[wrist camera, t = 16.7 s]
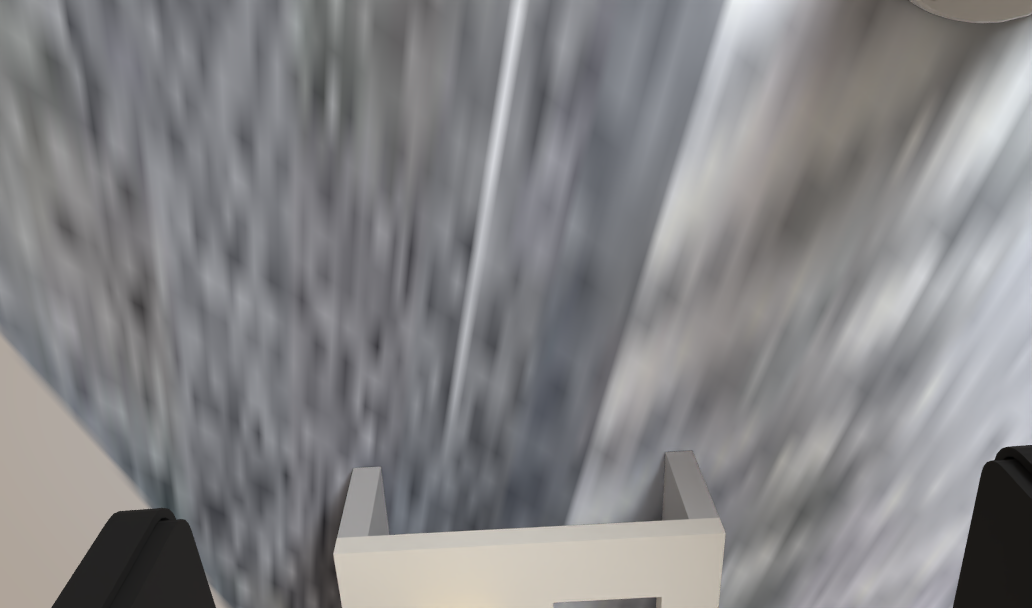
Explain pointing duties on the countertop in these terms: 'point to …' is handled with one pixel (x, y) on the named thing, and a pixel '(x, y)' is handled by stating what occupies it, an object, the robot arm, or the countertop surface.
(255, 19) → the countertop surface
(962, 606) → the robot arm
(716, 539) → the notched white bracket
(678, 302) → the countertop surface
